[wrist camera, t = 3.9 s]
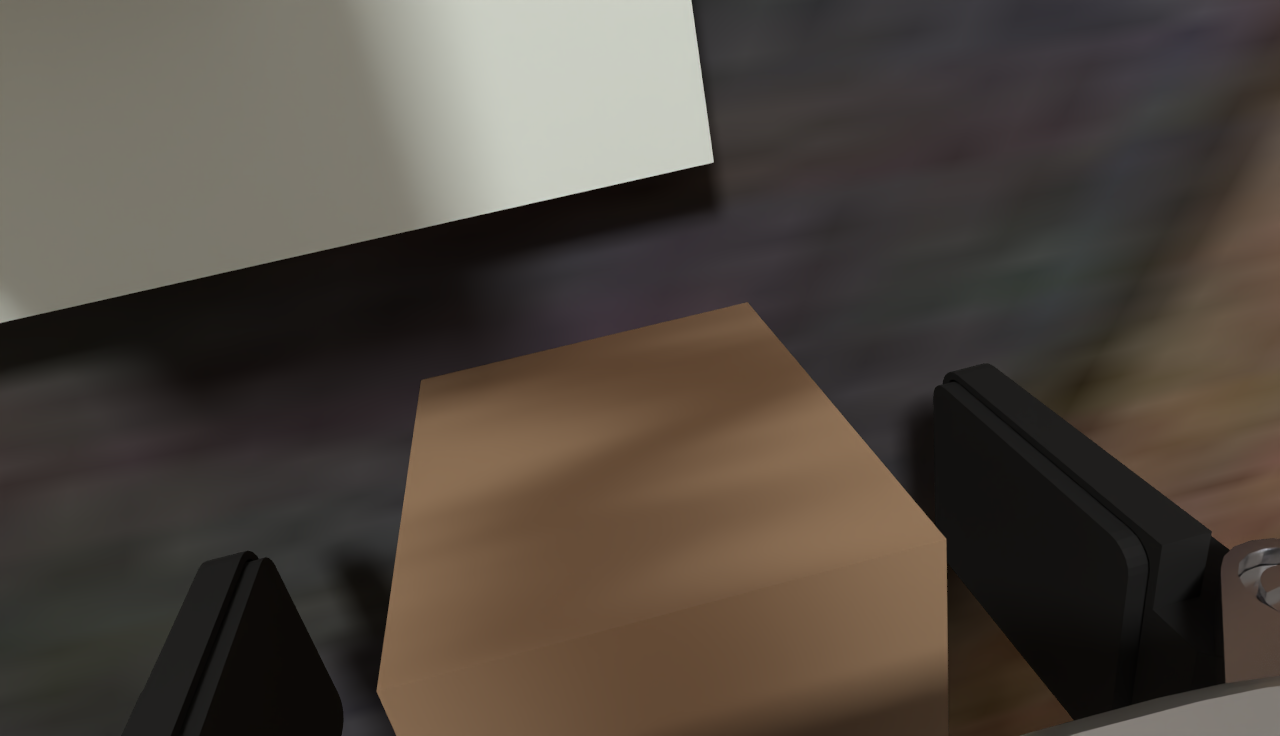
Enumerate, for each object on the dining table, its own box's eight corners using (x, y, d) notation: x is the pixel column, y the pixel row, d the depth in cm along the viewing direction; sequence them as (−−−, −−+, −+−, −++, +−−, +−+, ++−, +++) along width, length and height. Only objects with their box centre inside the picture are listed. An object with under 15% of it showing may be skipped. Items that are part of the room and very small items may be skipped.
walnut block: (747, 300, 13) (945, 539, 7) (779, 556, 15) (950, 882, 9) (421, 378, 12) (376, 691, 7) (505, 628, 14) (522, 1013, 9)
